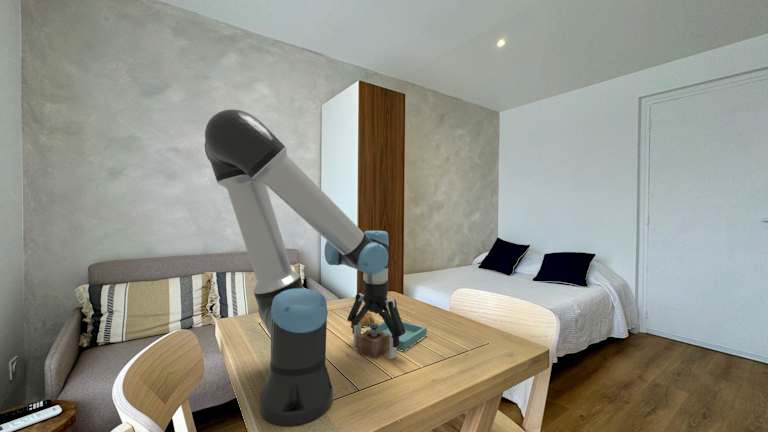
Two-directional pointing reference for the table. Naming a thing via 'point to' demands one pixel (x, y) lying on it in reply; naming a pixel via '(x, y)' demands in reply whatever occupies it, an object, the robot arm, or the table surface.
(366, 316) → the pastry
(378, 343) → the collar
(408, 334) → the tray
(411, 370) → the table surface
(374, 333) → the metal bolt
